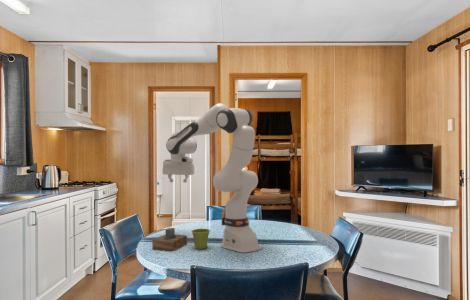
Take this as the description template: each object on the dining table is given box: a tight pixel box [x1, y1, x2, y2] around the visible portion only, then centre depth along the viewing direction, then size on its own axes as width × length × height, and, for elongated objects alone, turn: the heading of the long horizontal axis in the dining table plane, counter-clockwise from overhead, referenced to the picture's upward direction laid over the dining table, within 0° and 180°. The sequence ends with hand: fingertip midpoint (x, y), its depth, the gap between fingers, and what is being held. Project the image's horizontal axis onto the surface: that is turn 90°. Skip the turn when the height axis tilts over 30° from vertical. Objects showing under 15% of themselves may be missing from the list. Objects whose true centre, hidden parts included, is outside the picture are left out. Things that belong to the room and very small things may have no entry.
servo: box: [164, 226, 177, 239], centre depth 168 cm, size 6×3×9 cm, turn 160°
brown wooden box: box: [151, 233, 188, 252], centre depth 168 cm, size 14×12×5 cm
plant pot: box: [191, 228, 211, 250], centre depth 165 cm, size 9×9×9 cm
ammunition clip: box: [221, 206, 226, 226], centre depth 222 cm, size 11×2×12 cm, turn 108°
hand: (178, 182), depth 196 cm, fingers open, 8 cm apart
